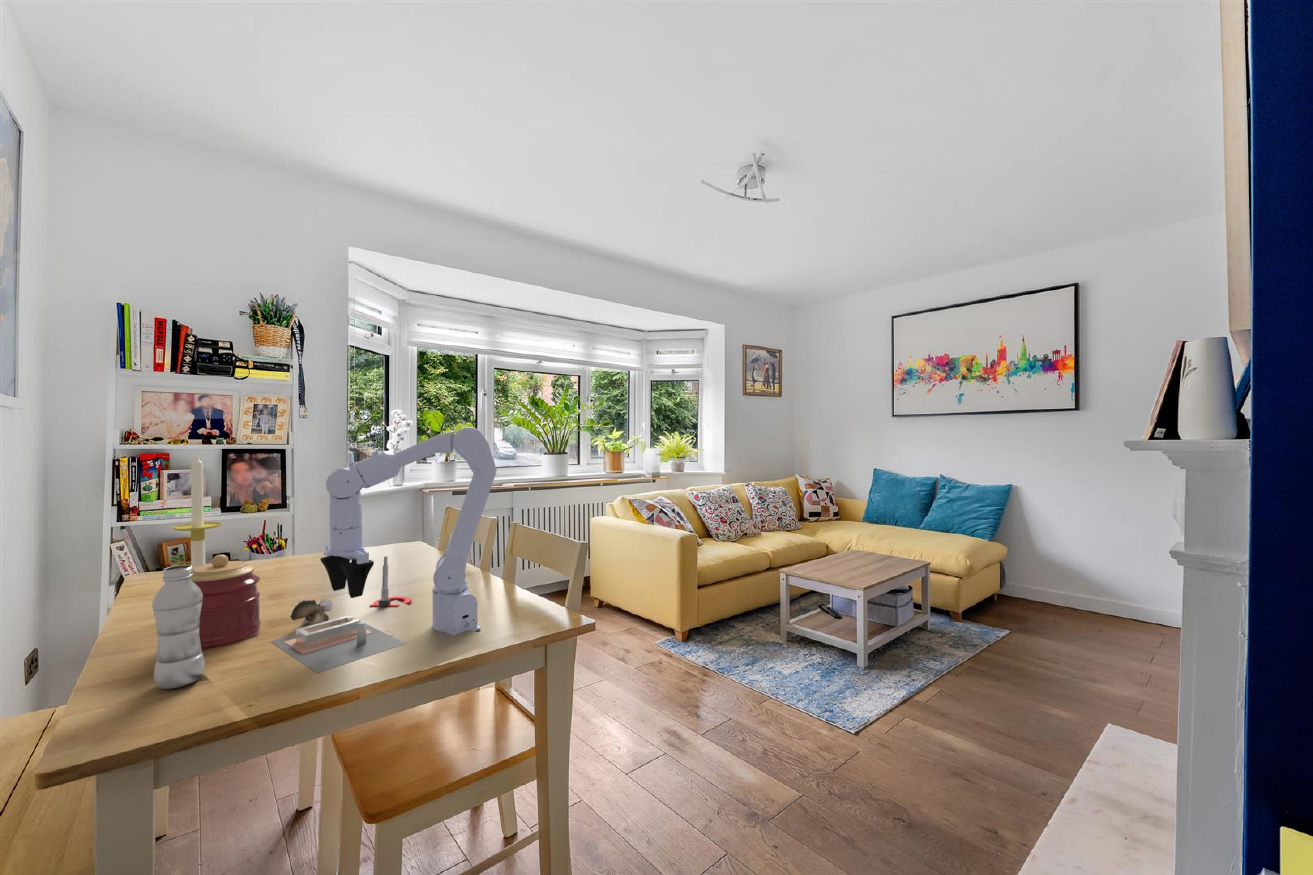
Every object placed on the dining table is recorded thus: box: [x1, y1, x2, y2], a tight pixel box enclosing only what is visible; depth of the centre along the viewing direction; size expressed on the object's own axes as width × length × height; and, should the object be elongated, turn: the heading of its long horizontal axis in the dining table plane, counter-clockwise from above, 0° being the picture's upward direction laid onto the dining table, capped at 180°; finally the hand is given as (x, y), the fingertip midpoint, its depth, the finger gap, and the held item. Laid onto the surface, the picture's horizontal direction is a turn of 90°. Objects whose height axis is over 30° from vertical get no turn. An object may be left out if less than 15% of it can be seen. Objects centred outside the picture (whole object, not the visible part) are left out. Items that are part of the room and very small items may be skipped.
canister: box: [191, 554, 262, 652], centre depth 109 cm, size 13×13×18 cm
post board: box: [270, 617, 407, 674], centre depth 107 cm, size 22×16×5 cm
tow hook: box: [369, 555, 413, 609], centre depth 132 cm, size 8×13×9 cm
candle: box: [173, 451, 222, 570], centre depth 125 cm, size 10×10×38 cm
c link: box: [295, 615, 361, 648], centre depth 109 cm, size 5×10×2 cm, turn 143°
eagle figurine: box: [289, 598, 333, 626], centre depth 117 cm, size 8×7×9 cm
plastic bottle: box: [151, 564, 206, 690], centre depth 91 cm, size 6×7×20 cm
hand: (347, 592), depth 110 cm, fingers open, 7 cm apart
